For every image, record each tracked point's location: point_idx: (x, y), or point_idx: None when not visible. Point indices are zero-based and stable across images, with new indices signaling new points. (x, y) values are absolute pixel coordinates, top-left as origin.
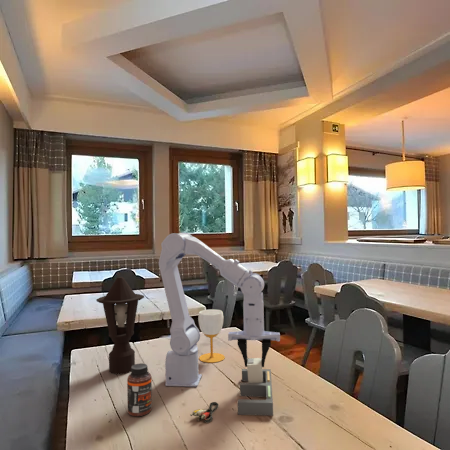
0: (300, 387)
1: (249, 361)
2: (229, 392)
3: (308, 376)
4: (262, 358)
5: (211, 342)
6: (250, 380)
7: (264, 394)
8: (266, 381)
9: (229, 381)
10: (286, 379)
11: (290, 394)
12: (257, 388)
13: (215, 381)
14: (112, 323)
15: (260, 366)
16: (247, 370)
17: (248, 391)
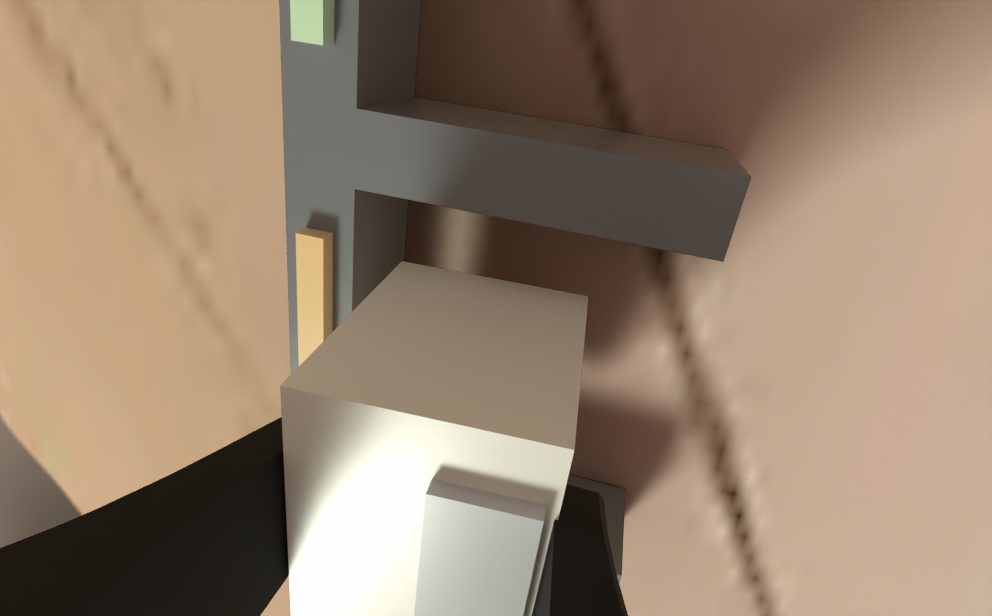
0: (101, 259)
1: (501, 554)
2: (840, 270)
3: (62, 433)
4: (200, 501)
5: None
6: (554, 304)
7: (425, 102)
8: (346, 234)
9: (764, 514)
10: (219, 425)
11: (176, 127)
12: (487, 124)
13: (932, 552)
14: None
15: (319, 367)
16: (578, 387)
17: (617, 137)
